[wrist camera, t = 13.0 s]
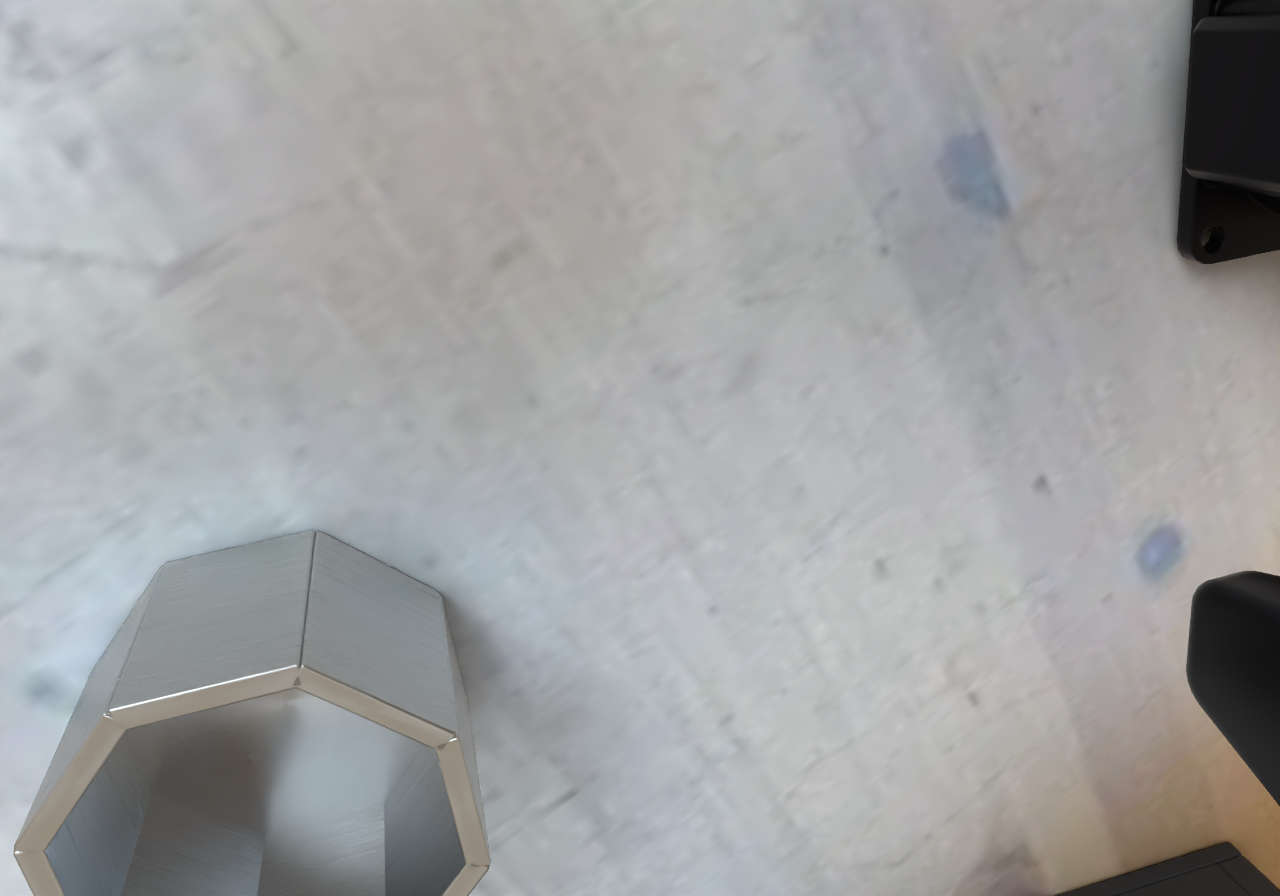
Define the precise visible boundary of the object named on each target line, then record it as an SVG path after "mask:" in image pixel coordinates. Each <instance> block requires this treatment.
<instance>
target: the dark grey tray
mask: <svg viewBox="0 0 1280 896" xmlns="http://www.w3.org/2000/svg"><path fill="white" fill-rule="evenodd" d="M1059 896H1280V890H1279V889H1278V888H1277V887H1276V886H1275V885H1274V884H1273V883H1272V882H1271V881H1270V880H1269V879H1268V878H1267V877H1266V876H1264V875H1263V874H1262V873H1261V872H1260V871H1259V870H1258V869H1257V868H1256V867H1255V866H1254V865H1253V864H1252V863H1251V862H1250V861H1249V860H1247V859H1246V858H1245V857H1244V856H1242V854H1241V853H1240V852H1239V851H1238V850H1237V849H1236V848H1235V847H1234V846H1233V845H1232V844H1231V843H1230V842H1226V843H1223V844H1220V845H1216V846H1213V847H1210V848H1207V849H1204V850H1201V851H1198V852H1194V853H1191V854H1188V855H1185V856H1182V857H1179V858H1176V859H1172V860H1169V861H1166V862H1163V863H1160V864H1157V865H1153V866H1150V867H1147V868H1144V869H1141V870H1138V871H1135V872H1131V873H1128V874H1125V875H1122V876H1119V877H1116V878H1113V879H1109V880H1106V881H1103V882H1100V883H1097V884H1094V885H1090V886H1087V887H1084V888H1081V889H1078V890H1075V891H1072V892H1068V893H1065V894H1062V895H1059Z"/></svg>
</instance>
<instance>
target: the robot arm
mask: <svg viewBox="0 0 1280 896" xmlns="http://www.w3.org/2000/svg"><path fill="white" fill-rule="evenodd" d="M1209 228H1210V232H1211V233H1210V237H1209V240H1208V241H1207V242H1206V244H1205V245H1204V246H1203V243H1202V241H1203V237H1204V234H1205V233H1206V232H1207V231H1208V229H1209ZM1177 243H1178V250H1179V251H1180V253H1181V255H1182V256H1183V257H1185V258H1187V259H1188V260H1191V261H1195V262H1199V263H1202V264H1214V263H1219V262H1223V261H1228V260H1233V259H1237V258H1242V257H1247V256H1251V255H1256V254H1261V253H1266V252H1270V251H1275V250H1280V0H1194V1H1193V16H1192V30H1191V45H1190V59H1189V74H1188V89H1187V103H1186V118H1185V132H1184V147H1183V162H1182V176H1181V191H1180V206H1179V220H1178V235H1177ZM1186 673H1187V679H1188V683H1189V685H1190V688H1191V691H1192V693H1193V695H1194V697H1195V699H1196V700H1197V702H1198V703H1199V705H1200V706H1201V707H1202V709H1203V710H1204V711H1205V712H1206V714H1207V715H1208V716H1209V717H1210V719H1211V720H1212V721H1213V722H1214V724H1215V725H1216V726H1217V728H1218V729H1219V730H1220V731H1221V733H1222V734H1223V735H1224V736H1225V738H1226V739H1227V740H1228V741H1229V743H1230V744H1231V745H1232V746H1233V748H1234V749H1235V750H1236V752H1237V753H1238V754H1239V755H1240V757H1241V758H1242V759H1243V760H1244V762H1245V763H1246V764H1247V765H1248V767H1249V768H1250V769H1251V770H1252V772H1253V773H1254V774H1255V776H1256V777H1257V778H1258V779H1259V781H1260V782H1261V783H1262V784H1263V786H1264V787H1265V788H1266V789H1267V791H1268V792H1269V793H1270V794H1271V796H1272V797H1273V798H1274V800H1275V801H1276V802H1277V803H1278V805H1279V806H1280V576H1276V575H1271V574H1267V573H1263V572H1257V571H1242V572H1238V573H1234V574H1230V575H1227V576H1223V577H1219V578H1216V579H1212V580H1208V581H1206V582H1204V583H1203V584H1201V585H1200V586H1199V587H1198V588H1197V590H1196V592H1195V593H1194V595H1193V599H1192V606H1191V617H1190V629H1189V641H1188V652H1187V664H1186Z"/></svg>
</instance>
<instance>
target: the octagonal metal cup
mask: <svg viewBox="0 0 1280 896" xmlns="http://www.w3.org/2000/svg"><path fill="white" fill-rule="evenodd" d="M14 856H15V858H16V860H17V863H18V865H19V867H20V869H21V871H22V873H23V875H24V877H25V879H26V881H27V883H28V885H29V887H30V889H31V891H32V893H33V895H34V896H468V895H469V894H470V892H471V891H472V890H473V888H474V887H475V886H476V885H477V883H478V882H479V881H480V879H481V878H482V877H483V875H484V874H485V873H486V872H487V870H488V869H489V866H490V865H489V864H490V862H491V858H490V851H489V844H488V837H487V830H486V824H485V817H484V810H483V803H482V796H481V789H480V782H479V775H478V768H477V761H476V754H475V747H474V741H473V734H472V727H471V720H470V713H469V706H468V701H467V697H466V693H465V689H464V684H463V680H462V676H461V672H460V668H459V664H458V660H457V656H456V652H455V648H454V644H453V640H452V636H451V632H450V627H449V623H448V619H447V615H446V611H445V607H444V603H443V599H442V596H441V595H439V593H438V591H436V590H434V589H432V588H430V587H428V586H426V585H424V584H422V583H420V582H418V581H416V580H414V579H412V578H410V577H408V576H406V575H405V574H403V573H401V572H399V571H397V570H395V569H393V568H391V567H389V566H387V565H385V564H383V563H381V562H379V561H377V560H375V559H373V558H371V557H369V556H367V555H366V554H364V553H362V552H360V551H358V550H356V549H354V548H352V547H350V546H348V545H346V544H344V543H342V542H340V541H338V540H336V539H334V538H332V537H330V536H328V535H327V534H325V533H323V532H321V531H316V532H315V531H314V530H309V531H305V532H300V533H296V534H291V535H287V536H282V537H278V538H273V539H269V540H264V541H260V542H255V543H251V544H246V545H242V546H237V547H233V548H228V549H224V550H219V551H215V552H210V553H206V554H201V555H197V556H192V557H188V558H183V559H179V560H175V561H170V562H167V563H166V564H165V565H162V566H161V567H160V569H159V570H158V572H157V573H156V575H155V576H154V578H153V579H152V581H151V582H150V584H149V585H148V587H147V588H146V590H145V592H144V593H143V595H142V596H141V598H140V599H139V601H138V602H137V604H136V605H135V607H134V608H133V610H132V611H131V613H130V614H129V616H128V617H127V619H126V620H125V622H124V623H123V625H122V626H121V628H120V629H119V631H118V632H117V634H116V636H115V637H114V639H113V640H112V642H111V643H110V645H109V646H108V648H107V649H106V651H105V652H104V654H103V655H102V657H101V658H100V660H99V661H98V663H97V664H96V666H95V667H94V669H93V670H92V672H91V673H90V675H89V678H88V680H87V682H86V684H85V687H84V689H83V691H82V694H81V696H80V698H79V700H78V703H77V705H76V707H75V709H74V712H73V714H72V716H71V718H70V721H69V723H68V725H67V727H66V730H65V732H64V734H63V737H62V739H61V741H60V743H59V746H58V748H57V750H56V752H55V755H54V757H53V759H52V761H51V764H50V766H49V768H48V770H47V773H46V775H45V777H44V779H43V782H42V784H41V786H40V789H39V791H38V793H37V795H36V798H35V800H34V802H33V804H32V807H31V809H30V811H29V813H28V816H27V818H26V820H25V822H24V825H23V827H22V829H21V832H20V834H19V836H18V838H17V841H16V843H15V845H14Z"/></svg>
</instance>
